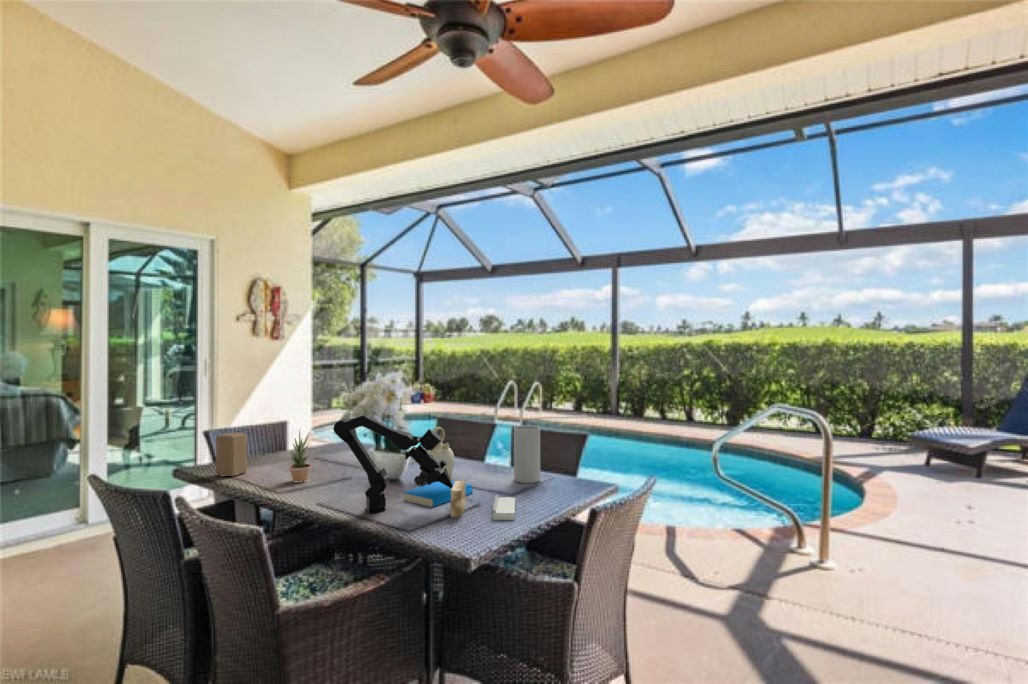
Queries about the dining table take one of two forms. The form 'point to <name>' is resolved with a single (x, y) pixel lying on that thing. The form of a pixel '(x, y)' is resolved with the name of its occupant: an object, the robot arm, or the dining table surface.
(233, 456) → the wooden block
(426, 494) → the book
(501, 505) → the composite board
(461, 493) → the oak plank
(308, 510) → the dining table surface
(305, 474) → the potted plant
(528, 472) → the cylinder vase
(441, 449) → the jug
